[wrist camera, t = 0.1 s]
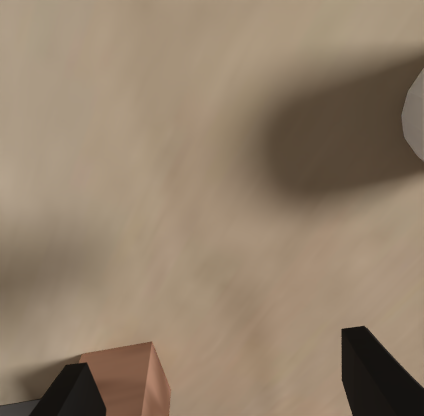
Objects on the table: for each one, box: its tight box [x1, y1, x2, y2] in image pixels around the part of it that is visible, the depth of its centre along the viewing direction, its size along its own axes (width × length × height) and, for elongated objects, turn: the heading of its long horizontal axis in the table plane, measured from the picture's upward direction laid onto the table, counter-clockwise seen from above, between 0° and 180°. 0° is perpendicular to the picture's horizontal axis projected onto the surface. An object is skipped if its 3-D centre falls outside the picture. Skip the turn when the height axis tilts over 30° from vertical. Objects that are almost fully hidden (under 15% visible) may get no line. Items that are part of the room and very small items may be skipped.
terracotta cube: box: [79, 342, 171, 416], centre depth 23 cm, size 4×4×5 cm
